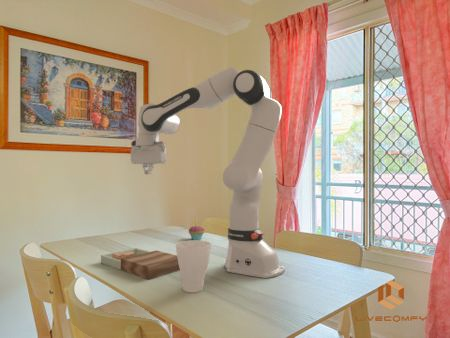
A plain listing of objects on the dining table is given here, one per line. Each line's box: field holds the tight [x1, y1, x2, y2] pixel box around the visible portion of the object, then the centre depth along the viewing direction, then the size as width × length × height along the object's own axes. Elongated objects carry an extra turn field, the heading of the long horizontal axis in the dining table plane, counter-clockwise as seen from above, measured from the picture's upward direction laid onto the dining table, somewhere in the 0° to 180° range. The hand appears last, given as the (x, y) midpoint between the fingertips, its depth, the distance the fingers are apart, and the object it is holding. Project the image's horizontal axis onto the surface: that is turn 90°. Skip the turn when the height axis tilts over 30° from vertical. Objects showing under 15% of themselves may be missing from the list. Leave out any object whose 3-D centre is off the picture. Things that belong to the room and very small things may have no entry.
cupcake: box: [188, 217, 206, 241], centre depth 167 cm, size 9×8×12 cm
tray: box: [100, 247, 151, 271], centre depth 123 cm, size 13×16×3 cm
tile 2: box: [121, 252, 135, 258], centre depth 118 cm, size 4×4×3 cm
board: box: [120, 250, 180, 280], centre depth 114 cm, size 16×16×4 cm
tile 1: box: [112, 251, 123, 261], centre depth 122 cm, size 4×4×3 cm
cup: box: [175, 239, 212, 294], centre depth 95 cm, size 10×10×14 cm
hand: (148, 174), depth 136 cm, fingers closed
